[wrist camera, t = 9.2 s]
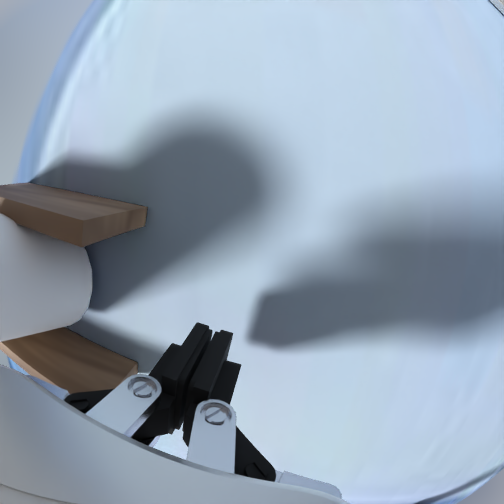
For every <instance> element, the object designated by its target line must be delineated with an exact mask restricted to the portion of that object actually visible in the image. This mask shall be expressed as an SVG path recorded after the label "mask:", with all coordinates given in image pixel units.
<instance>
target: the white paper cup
mask: <svg viewBox="0 0 504 504" xmlns="http://www.w3.org/2000/svg"><path fill="white" fill-rule="evenodd" d="M92 289H93V288H92V268H91V265H90V261H89V258H88V255H87V251H86V250H85V248H84V247H79V246H76V245H73V244H71V243H68V242H65V241H62V240H59V239H57V238H54V237H51V236H48V235H46V234H43V233H40V232H38V231H35V230H33V229H30V228H27V227H25V226H22V225H20V224H17V223H15V221H14V220H12V219H10V218H9V217H7V216H5V215H4V214H1V213H0V342H1V341H6V340H10V339H15V338H19V337H23V336H28V335H32V334H36V333H40V332H45V331H49V330H53V329H57V328H61V327H65V326H69V325H72V324H73V323H75V322H77V321H79V320H81V318H82V316H83V315H84V313H85V311H86V310H87V308H88V307H89V302H90V298H91V293H92Z"/></svg>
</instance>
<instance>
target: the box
mask: <svg viewBox="0 0 504 504" xmlns="http://www.w3.org/2000/svg"><path fill="white" fill-rule="evenodd" d="M147 208H148V207H145V206H140V205H136V204H131V203H126V202H122V201H117V200H112V199H108V198H103V197H98V196H93V195H88V194H83V193H78V192H74V191H68V190H63V189H58V188H53V187H48V186H43V185H38V184H32V183H18V184H8V185H0V213H1V214H4V215H5V216H7V217H9V218H10V219H12V220H14V221H15V223H17V224H20V225H22V226H25V227H27V228H30V229H33V230H35V231H38V232H40V233H43V234H46V235H48V236H51V237H54V238H57V239H59V240H62V241H65V242H68V243H71V244H73V245H76V246H79V247H85V246H88V245H90V244H93V243H96V242H99V241H102V240H105V239H108V238H110V237H113V236H116V235H119V234H122V233H125V232H128V231H131V230H135V229H138V228H141V227H144V226H145V222H146V215H147ZM0 349H1V350H2V351H3V352H4V353H5V354H6V355H7V356H8V357H10V358H11V359H12V360H13V361H14V362H15V363H16V364H18V365H19V366H20V367H21V368H23V369H24V370H25V371H26V372H27V373H29V374H30V375H31V376H34V377H37V378H39V379H41V380H43V381H45V382H48V383H50V384H52V385H55V386H57V387H60V388H62V389H65V390H67V391H68V393H69V394H72V393H77V392H88V391H98V390H107V389H115V388H116V387H117V386H119V385H120V384H121V383H122V382H123V381H124V380H126V379H127V378H128V377H130V376H132V375H135V374H137V373H138V365H137V362H135V361H133V360H131V359H128V358H126V357H124V356H121V355H119V354H117V353H115V352H113V351H110V350H108V349H106V348H104V347H102V346H100V345H98V344H96V343H94V342H92V341H90V340H88V339H86V338H84V337H82V336H80V335H78V334H76V333H74V332H72V331H71V330H69V329H67V328H65V327H61V328H57V329H53V330H49V331H45V332H40V333H36V334H32V335H28V336H23V337H19V338H15V339H10V340H6V341H1V342H0Z"/></svg>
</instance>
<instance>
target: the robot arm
mask: <svg viewBox="0 0 504 504" xmlns="http://www.w3.org/2000/svg"><path fill="white" fill-rule="evenodd" d="M490 1H491V2H492V3H493V4H494V5H495V6H496V7H497V8H498V9H499V10H500V12H501V13H502V14H503V15H504V0H490ZM232 336H233V333H231V332H228V331H224V330H221V331H220V332H215V334H214V336H213V338H212V340H211V337H212V330H210V329H209V326H207V325H204V324H201V323H198V322H197V323H196V325H195V326H194V328H193V329H192V331H191V332H190V334H189V335H188V337H187V338H186V340H185V341H184V343H183V344H182V346H180V345H177V344H174V343H172V344H171V345H170V346H169V348H168V349H167V350H166V352H165V353H164V355H163V356H162V357H161V359H160V360H159V361H158V363H157V364H156V366H155V367H154V368H153V370H152V371H151V372H150V374H149V375H144V374H135V375H132V376H130V377H128V378H127V379H126V380H124V381H123V382H122V383H121V384H120V385H119V386H117V387H116V388H115V389H107V390H98V391H88V392H77V393H72V394H69V393H68V391H67V390H65V389H62V388H60V387H57V386H55V385H52V384H50V383H48V382H45V381H43V380H41V379H39V378H37V377H34V376H31V375H24V374H22V373H20V372H18V371H16V370H14V369H12V368H9V367H7V366H4V365H0V504H350V503H349V502H347V501H345V500H343V499H342V494H341V492H340V490H339V489H338V488H337V487H336V486H334V485H331V484H329V483H324V482H321V481H317V480H313V479H309V478H306V477H303V476H299V475H296V474H293V473H290V472H287V471H284V472H283V473H282V472H280V471H277V470H275V469H274V468H273V466H272V465H271V464H270V463H269V462H268V461H267V460H266V459H265V457H264V456H263V455H262V454H261V453H260V452H259V451H258V450H257V449H256V448H255V447H254V446H253V445H252V443H251V442H250V441H249V440H248V439H247V438H246V437H245V436H244V434H243V433H242V432H241V431H240V430H239V429H238V428H237V426H236V412H235V411H234V409H233V408H232V407H231V406H230V402H231V399H232V395H233V392H234V388H235V385H236V382H237V378H238V375H239V371H240V368H241V364H237V363H234V362H230V361H227V356H228V352H229V348H230V344H231V340H232ZM183 421H184V422H183ZM182 423H183V432H184V433H183V440H184V442H185V443H186V445H187V446H188V453H187V459H186V460H184V459H181V458H178V457H176V456H173V455H170V454H167V453H165V452H162V451H160V450H157V449H155V448H153V447H154V445H155V444H156V443H157V442H158V440H159V438H160V435H164V434H168V433H169V434H172V433H173V431H174V429H178V430H179V429H180V427H181V425H182Z"/></svg>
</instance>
